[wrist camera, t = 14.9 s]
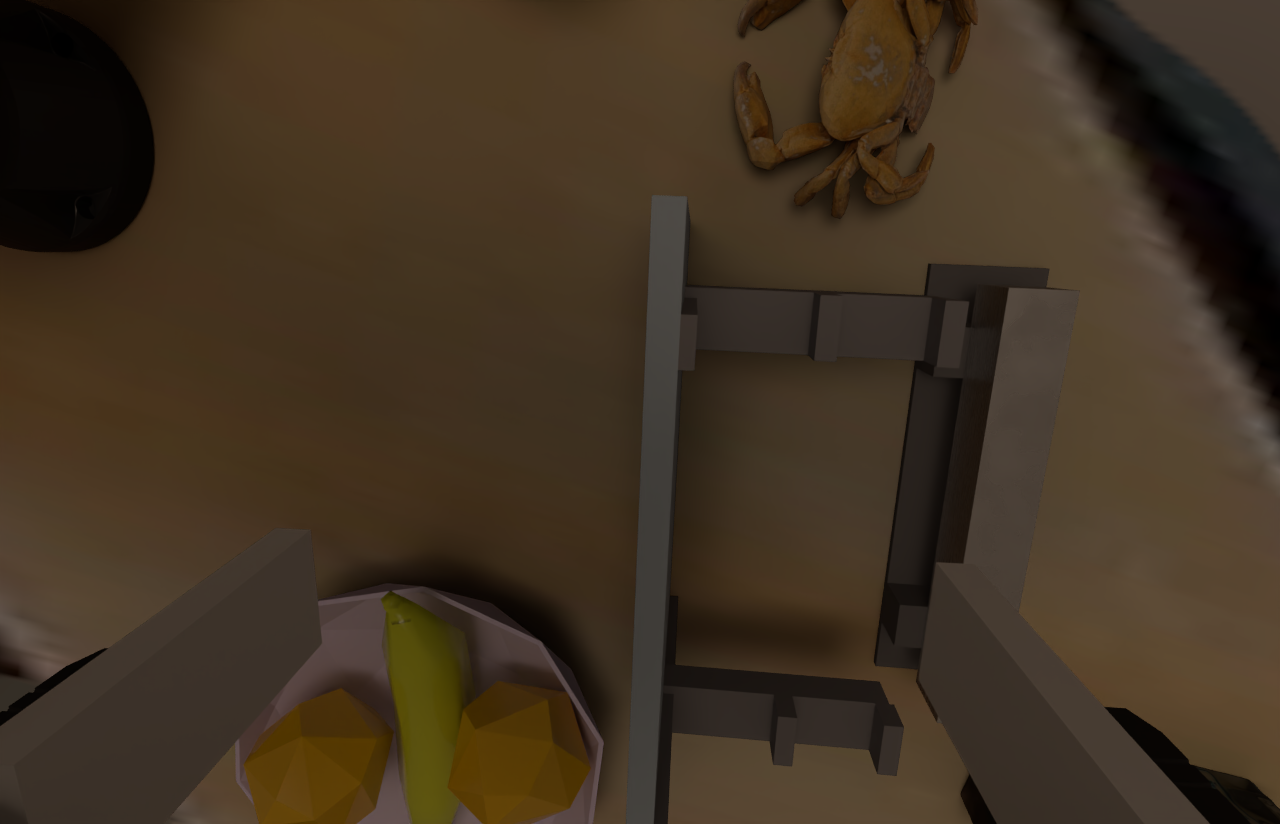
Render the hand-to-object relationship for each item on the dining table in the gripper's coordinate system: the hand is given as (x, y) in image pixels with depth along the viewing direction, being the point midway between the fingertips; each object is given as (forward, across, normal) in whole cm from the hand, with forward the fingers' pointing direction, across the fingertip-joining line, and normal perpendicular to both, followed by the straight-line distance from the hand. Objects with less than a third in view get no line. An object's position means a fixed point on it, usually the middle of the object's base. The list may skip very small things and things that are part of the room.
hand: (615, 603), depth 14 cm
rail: (+27, +20, -8) cm, 34 cm away
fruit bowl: (+31, -15, -27) cm, 44 cm away
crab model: (+32, +10, +17) cm, 37 cm away
